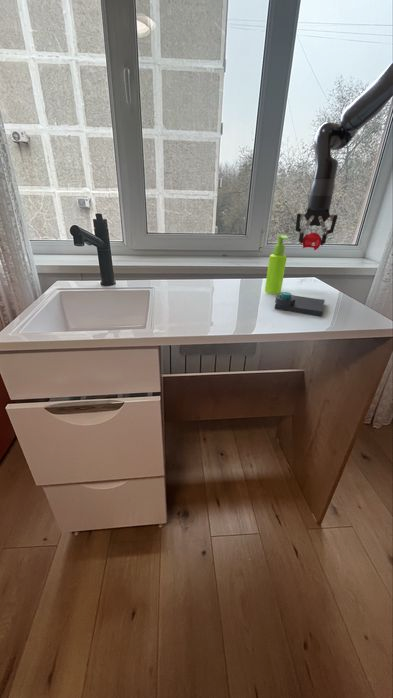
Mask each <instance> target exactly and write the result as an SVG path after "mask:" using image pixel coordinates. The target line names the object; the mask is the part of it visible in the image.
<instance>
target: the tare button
mask: <svg viewBox="0 0 393 698" xmlns="http://www.w3.org/2000/svg"><path fill="white" fill-rule="evenodd" d="M280 295H281V298H282V299H286V300H289V299H291V295H292V293H291V292H288V291H281V293H280Z"/></svg>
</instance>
